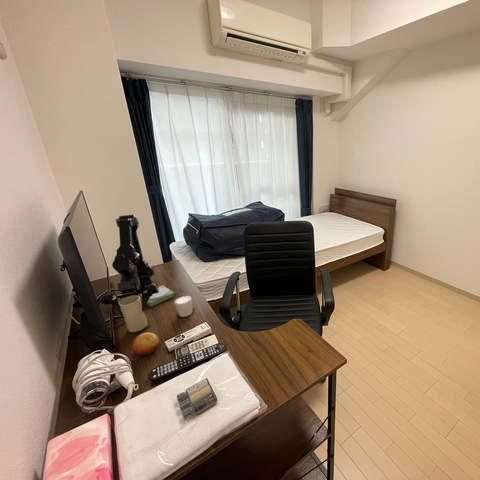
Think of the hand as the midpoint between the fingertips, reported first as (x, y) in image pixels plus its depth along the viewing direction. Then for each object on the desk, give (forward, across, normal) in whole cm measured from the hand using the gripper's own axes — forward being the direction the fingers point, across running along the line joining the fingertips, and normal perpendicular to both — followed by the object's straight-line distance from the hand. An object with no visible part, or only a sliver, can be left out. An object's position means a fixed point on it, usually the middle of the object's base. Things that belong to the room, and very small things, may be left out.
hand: (132, 314), depth 102 cm
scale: (-11, +6, +23) cm, 26 cm away
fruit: (+17, +4, -5) cm, 18 cm away
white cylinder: (+4, +18, +8) cm, 20 cm away
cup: (+4, 0, +6) cm, 7 cm away
